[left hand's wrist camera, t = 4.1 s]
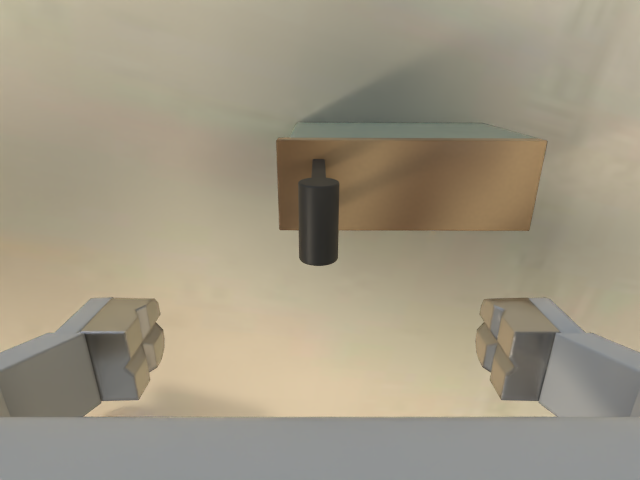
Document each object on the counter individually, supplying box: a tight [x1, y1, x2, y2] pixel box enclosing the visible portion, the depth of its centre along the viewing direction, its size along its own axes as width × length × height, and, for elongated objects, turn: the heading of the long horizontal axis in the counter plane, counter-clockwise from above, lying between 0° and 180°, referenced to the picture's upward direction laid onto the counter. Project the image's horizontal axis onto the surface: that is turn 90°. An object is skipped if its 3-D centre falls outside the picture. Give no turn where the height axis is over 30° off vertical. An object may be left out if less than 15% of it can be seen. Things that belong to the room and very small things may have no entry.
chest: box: [290, 123, 535, 138], centre depth 29 cm, size 15×5×9 cm, turn 90°
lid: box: [276, 138, 547, 266], centre depth 21 cm, size 15×5×8 cm, turn 90°
